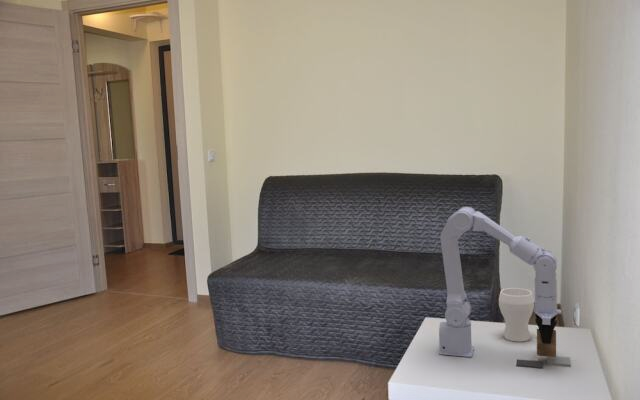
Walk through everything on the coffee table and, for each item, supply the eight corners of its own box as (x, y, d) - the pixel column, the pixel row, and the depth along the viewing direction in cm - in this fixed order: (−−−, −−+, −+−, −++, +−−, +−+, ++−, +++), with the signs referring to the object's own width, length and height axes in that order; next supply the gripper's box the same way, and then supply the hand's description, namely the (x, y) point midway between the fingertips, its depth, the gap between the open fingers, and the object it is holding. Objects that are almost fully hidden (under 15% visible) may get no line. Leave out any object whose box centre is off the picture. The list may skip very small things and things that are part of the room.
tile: (547, 362, 154) (570, 364, 151) (547, 355, 158) (569, 357, 156) (547, 366, 154) (570, 368, 151) (547, 359, 158) (570, 361, 156)
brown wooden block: (537, 355, 156) (536, 331, 155) (536, 352, 158) (536, 328, 157) (556, 357, 154) (556, 333, 153) (555, 353, 156) (555, 330, 155)
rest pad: (516, 366, 154) (516, 364, 154) (516, 360, 158) (516, 359, 157) (543, 368, 151) (543, 367, 151) (542, 362, 155) (542, 361, 155)
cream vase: (530, 345, 168) (530, 298, 166) (495, 340, 174) (494, 294, 172) (537, 334, 177) (536, 289, 175) (504, 330, 183) (503, 286, 181)
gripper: (562, 302, 146) (562, 351, 147) (560, 288, 159) (560, 333, 161) (534, 301, 148) (534, 349, 150) (534, 287, 162) (534, 331, 163)
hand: (546, 341), depth 155 cm, fingers closed on brown wooden block, 2 cm apart
